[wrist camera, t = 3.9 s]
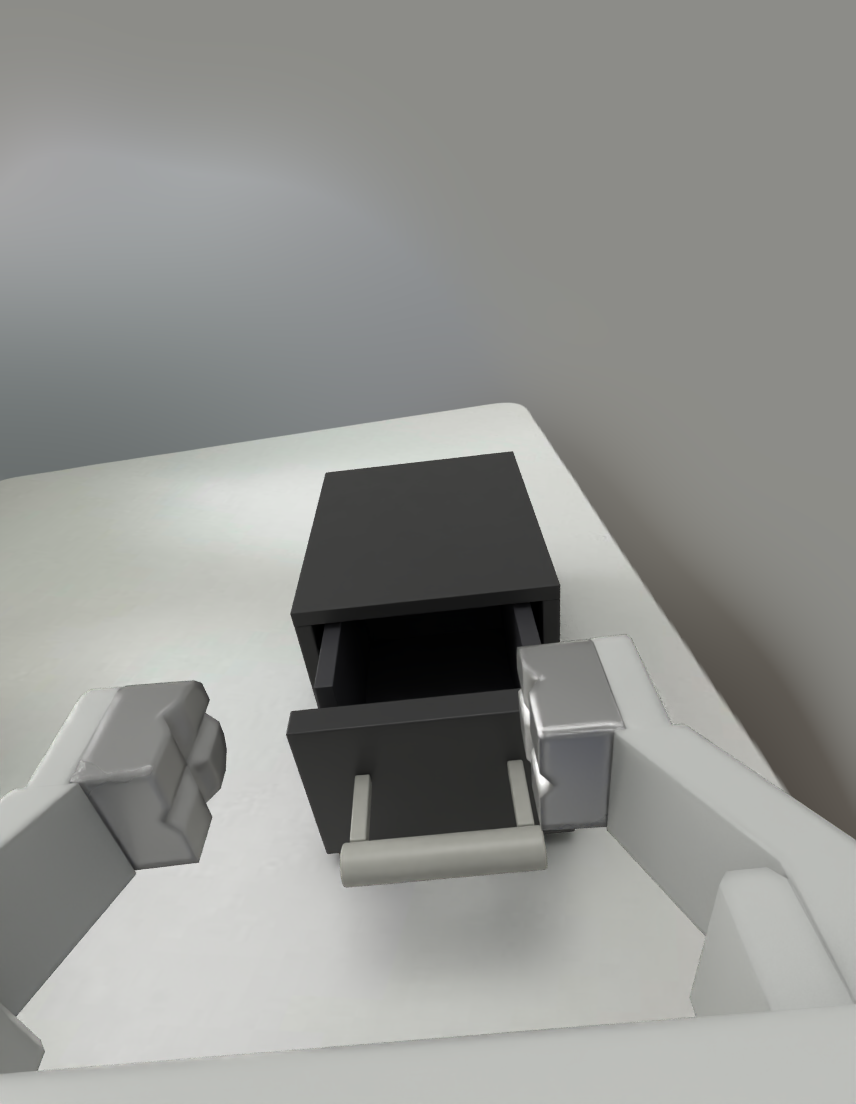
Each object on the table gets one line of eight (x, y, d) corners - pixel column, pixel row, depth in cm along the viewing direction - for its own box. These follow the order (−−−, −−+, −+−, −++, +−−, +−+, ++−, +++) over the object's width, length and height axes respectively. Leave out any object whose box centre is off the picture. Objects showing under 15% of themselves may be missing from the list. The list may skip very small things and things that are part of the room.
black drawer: (600, 934, 24) (610, 807, 19) (314, 959, 24) (263, 839, 20) (525, 630, 38) (521, 521, 34) (350, 648, 39) (325, 542, 35)
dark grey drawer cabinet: (559, 732, 33) (560, 584, 28) (331, 754, 33) (289, 613, 28) (517, 573, 45) (513, 451, 40) (351, 591, 45) (325, 472, 40)
